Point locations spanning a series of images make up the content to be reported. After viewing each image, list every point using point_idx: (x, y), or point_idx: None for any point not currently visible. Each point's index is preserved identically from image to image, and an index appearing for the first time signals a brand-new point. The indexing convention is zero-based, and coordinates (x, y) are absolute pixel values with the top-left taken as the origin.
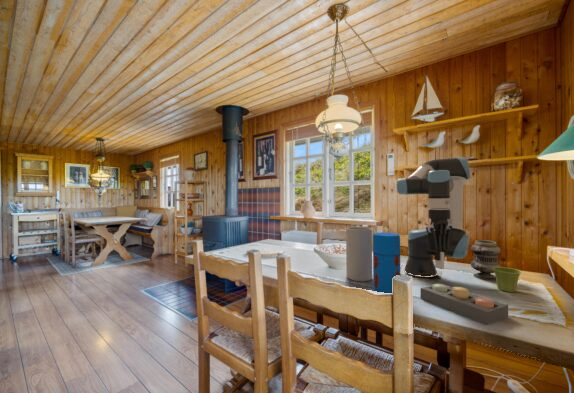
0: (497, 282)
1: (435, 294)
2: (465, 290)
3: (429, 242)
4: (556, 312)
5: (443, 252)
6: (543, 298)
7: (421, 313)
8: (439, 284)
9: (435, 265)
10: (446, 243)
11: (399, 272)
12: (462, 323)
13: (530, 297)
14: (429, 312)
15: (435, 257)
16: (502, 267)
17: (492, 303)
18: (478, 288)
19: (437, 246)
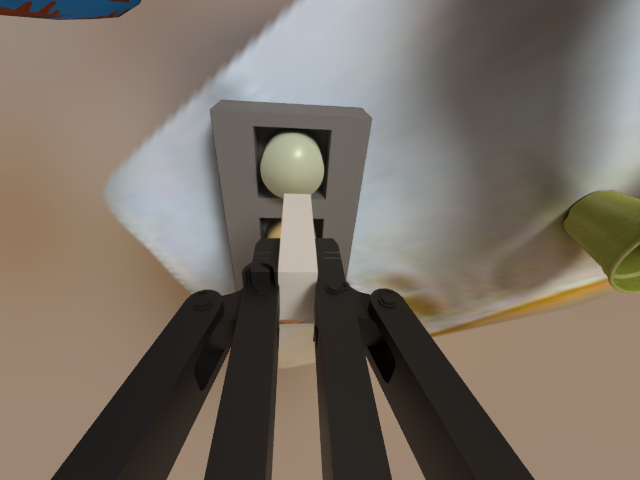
0: (601, 209)
1: (222, 188)
2: None
3: (121, 386)
4: (454, 320)
5: (306, 318)
6: (552, 282)
7: (112, 198)
8: (310, 158)
9: (284, 200)
10: (384, 387)
11: (17, 3)
12: (191, 277)
13: (541, 268)
14: (148, 205)
15: (255, 254)
16: None
17: (289, 322)
18: (547, 158)
19: (209, 381)
